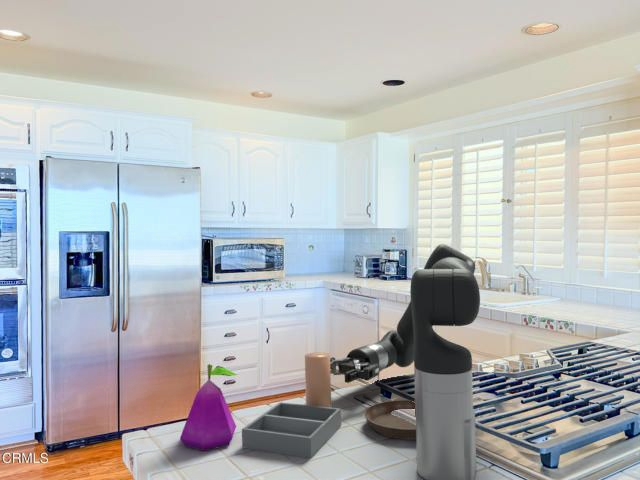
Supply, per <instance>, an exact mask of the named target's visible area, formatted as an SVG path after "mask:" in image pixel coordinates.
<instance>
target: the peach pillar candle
mask: <svg viewBox="0 0 640 480" xmlns="http://www.w3.org/2000/svg"><path fill="white" fill-rule="evenodd" d="M330 358H331V354H330V353H328V352H310V353H309V352H308V353H306V354H305V355H304V375H305V376H304V381H305V382H304V383H305V384H304V386H305V405H310V406H320V407H329V408H332V382H331V381H332V379H331V378H332V377H331V372H330Z"/></svg>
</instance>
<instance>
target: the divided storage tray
mask: <svg viewBox="0 0 640 480" xmlns="http://www.w3.org/2000/svg"><path fill="white" fill-rule="evenodd" d="M341 427H342V408H337V407H331V408H329V407H320V406H310V405H306V404H301V403H300V404H299V403H290V402H280V401H279V402H278V403H277V404H275V405H274V406H272V407H271V408H270V409H268V410H267V411H265V412H264V413H263V414H261V415H259V416H258V417H257V418H255V419H254V420H253V421H251V422H250V423H248V424H247V425H245V426H244V427H243V428H241V442H242V446H241V447H242V448H243V449H250V450H255V451H262V452H267V453H268V452H269V453H276V454H282V455H289V456H296V457H304V458H309V459H312V458H314V456H315V455H316V453H318V452H319V450H321V448H322V447H323V446H324V445H325V444H326V443H327V442H328V441H329V439H331V438H332V437H333V436H334V434H335V433H336V432H337V431H338V430H339V429H340V428H341Z"/></svg>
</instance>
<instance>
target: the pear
mask: <svg viewBox="0 0 640 480" xmlns="http://www.w3.org/2000/svg"><path fill="white" fill-rule="evenodd" d="M206 366H207V381H206V382H205V383H204V384H203V385H201V387H200V388H199V389H198V391H197V392H196V395H195V398H194V400H193V403H192V405H191V407H190V408H191V409H190V411H189V413H188V416H187V419H186V421H185V422H184V423H185V424H184V426H183V429H182V431H181V434H180V436H179V437H180V438H179V439H180V440H181V441H180V442H182V444H183V445H184V447H187V448H192V449H195V450H198V451H199V450H200V451H203V452H204V451H209V450H214V449H219V448H221V447H227V446H229V445H230V444H231V441H232V440H233V438H234V434H235V431H236V428H237V425H236V422H235V420H234V417H233V415H232V413H231V411H230V408H229V406H228V404H227V401H226V399H225V397H224V394H223V391H222V390H221V388H220V387H219V386H218V385H217V384H215V383H214V382H213V381H212V380H211V377H212V376H225V377H231V376H238V374H237V373H235V372H233V371H231V370H229V369H227V368H225V367H223V366H220V365H217V366H216V367H214V369H213V365H212V364H210V363H209V364H207V365H206Z"/></svg>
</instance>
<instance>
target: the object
mask: <svg viewBox="0 0 640 480" xmlns="http://www.w3.org/2000/svg"><path fill="white" fill-rule="evenodd" d="M398 409H415V403H414V402H412V401H410V399H398V400H397V399H396V400H387V401H382V402H377V403H375V404H373V405H370V406H369V407H367V408H366V409H365V410H364V412H363V415H364V418H365V420H366V421H367V423H368V424H369V425H370V426H371V427H372V428H373V429H374V430H375V431H376V432H377V433H379V434H381V435H383V436H386V437H389V438H394V439H398V440H399V439H400V440H410V441H412V440H415V441H416V425H414V424H412V423H410V422H409V421H406V420H405V419H402V418H399V417H397V416H394V415H392V414H391V412H392V411H394V410H398Z"/></svg>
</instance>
